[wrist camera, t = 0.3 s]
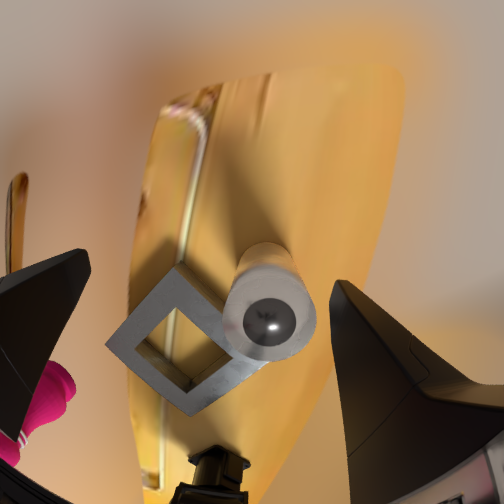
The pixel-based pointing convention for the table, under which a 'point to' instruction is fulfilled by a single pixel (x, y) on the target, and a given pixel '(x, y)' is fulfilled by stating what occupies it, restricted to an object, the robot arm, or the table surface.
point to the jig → (158, 367)
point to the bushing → (268, 306)
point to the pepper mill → (41, 408)
